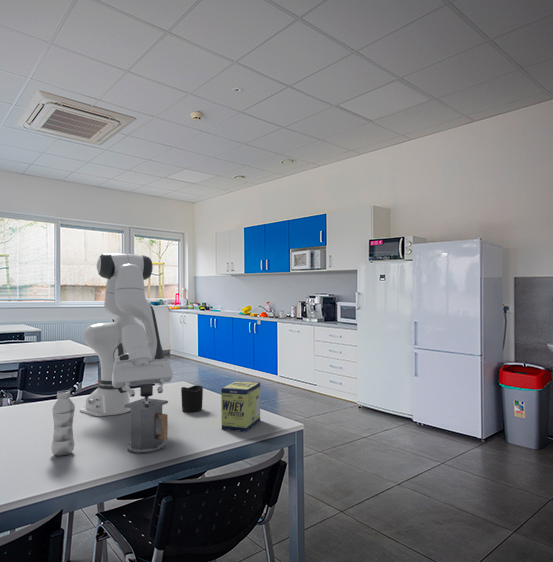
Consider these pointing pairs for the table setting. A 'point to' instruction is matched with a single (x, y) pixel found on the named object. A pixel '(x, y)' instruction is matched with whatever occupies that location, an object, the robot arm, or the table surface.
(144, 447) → the press carafe
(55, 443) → the plastic bottle
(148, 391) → the plunger
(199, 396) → the pen holder
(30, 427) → the table surface
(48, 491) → the table surface
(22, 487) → the table surface
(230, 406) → the protein box
